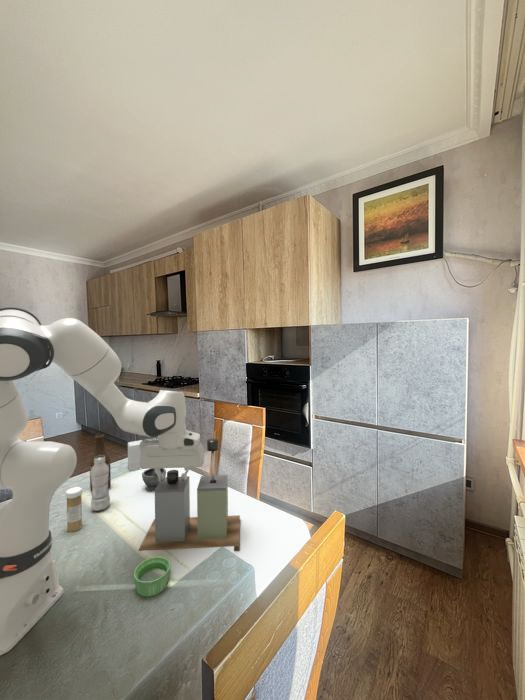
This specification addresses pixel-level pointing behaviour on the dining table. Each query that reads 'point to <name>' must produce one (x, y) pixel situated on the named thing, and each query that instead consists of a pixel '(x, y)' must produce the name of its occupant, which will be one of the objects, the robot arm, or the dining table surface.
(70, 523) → the sprinkles bottle
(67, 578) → the dining table surface
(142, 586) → the ramekin
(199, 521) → the olive slotted block
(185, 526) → the grey block
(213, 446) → the black plunger knob
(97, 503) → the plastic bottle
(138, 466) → the supplement box
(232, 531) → the walnut board
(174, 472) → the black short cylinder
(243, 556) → the dining table surface
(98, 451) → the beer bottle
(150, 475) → the mortar and pestle
